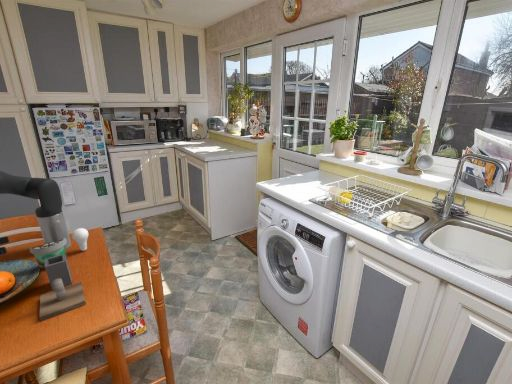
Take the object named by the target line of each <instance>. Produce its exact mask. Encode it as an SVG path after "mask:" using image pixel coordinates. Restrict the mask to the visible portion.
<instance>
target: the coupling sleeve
mask: <svg viewBox="0 0 512 384" xmlns="http://www.w3.org/2000/svg"><path fill="white" fill-rule="evenodd" d="M44 270H45V273H46V275H47V278H48V281H49V285H50V288H51V291H55V290H54V287H53V284H52V282H53V281H54V280H55V279H58V278H61V279H62V282H63V285H64V287H67V286H70V285H73V282H72V274H71V271H70V268H69V264H68V259H67V260H66V256H65V254H62V255H58V256H54V257H51V258H47V259H45V269H44Z"/></svg>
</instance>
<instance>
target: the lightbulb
mask: <svg viewBox="0 0 512 384" xmlns="http://www.w3.org/2000/svg"><path fill="white" fill-rule="evenodd" d="M71 238H72V240H73V241H74V242H76V243H77V245H78V247H79V249H80V251H82V252H85V251H86V250H87V249H88V243H87V242H88V238H89V231H88V230H87V229H86V228H82V227H79V228H76V229H75V230H73V232H72V233H71Z"/></svg>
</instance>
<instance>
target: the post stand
mask: <svg viewBox="0 0 512 384" xmlns="http://www.w3.org/2000/svg"><path fill="white" fill-rule="evenodd" d="M52 284H53V287H54V290H51V291H50V292H47V293H44V294H41V295H40V294H39V295H40V297H39V299H40V300H39V320H40V322H42V321H45V320H47V319H50V318H53V317H55V316H56V317H57V316H58V315H61V314H64V313H66V312H69V311H71V310H75V309H76V308H79V307H82V306H85V305H86V304H87V303H86V298H85V294H84V293H85V292H84V288H83V287H84V286H83V283H82V281H80V282H76V283H72V284H71V285H68V286H65V287H64V285H63V282H62V279H61V278H58V279H55V280H54V281H53V282H52Z"/></svg>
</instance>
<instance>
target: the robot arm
mask: <svg viewBox="0 0 512 384" xmlns="http://www.w3.org/2000/svg"><path fill="white" fill-rule="evenodd" d="M4 194H5V195H6V194H7V195H8V194H9V195H15V196H21V197H25V198H29V199H33V200H39V203H40V204H39V205H40V206H38V207H37V208H36V209H35V212H34V213H35V216H36V219H37V223H38V225H39V229H40V232H41V235H42V239H43V242H44V244H46V243H49V242H55V241H59V240H62V239H64V238H65V239H66V240H67V243H66V244H65V245H66V250H68V249H69V248H70V247H71V246H72V243H71V238H70V235H69V234H70V233H69V229H68V227H67V223H66V219H65V216H64V212H63V207H62V206H63V199H62V193H61V189H60V186H59V184H58V182H57V181H56V180H54V179H51V178H45V177H27V176H18V175H13V174H10V173H7V172H4V171H3V170H0V195H4ZM9 242H10V239H9V236H1V237H0V245H4V244H8V243H9ZM7 252H8V251H7V248H6V247H5V246H1V247H0V256H2V255H5V254H7Z"/></svg>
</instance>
